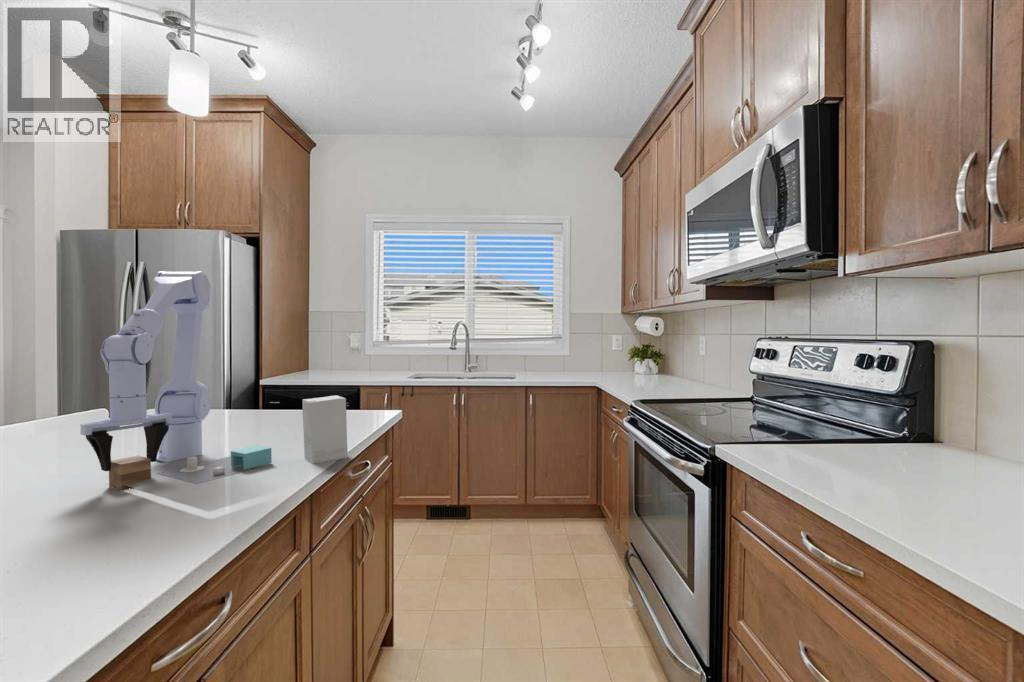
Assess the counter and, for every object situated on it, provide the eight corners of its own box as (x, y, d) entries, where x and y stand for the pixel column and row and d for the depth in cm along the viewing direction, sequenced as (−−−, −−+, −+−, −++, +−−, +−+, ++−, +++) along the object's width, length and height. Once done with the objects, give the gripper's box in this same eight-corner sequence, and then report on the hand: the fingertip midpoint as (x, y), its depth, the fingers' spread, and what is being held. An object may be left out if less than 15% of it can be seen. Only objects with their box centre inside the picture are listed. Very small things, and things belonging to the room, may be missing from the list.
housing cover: (231, 466, 107) (230, 451, 107) (257, 460, 112) (257, 445, 112) (245, 469, 105) (244, 453, 104) (271, 462, 110) (271, 447, 110)
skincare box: (339, 457, 119) (338, 394, 119) (348, 462, 115) (347, 397, 114) (302, 463, 114) (301, 397, 114) (311, 468, 109) (310, 400, 109)
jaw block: (109, 486, 97) (108, 461, 97) (138, 480, 102) (138, 455, 102) (121, 490, 95) (120, 464, 95) (151, 483, 99) (150, 458, 99)
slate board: (156, 477, 103) (155, 460, 103) (232, 460, 117) (232, 445, 117) (196, 489, 96) (196, 470, 96) (273, 468, 110) (272, 452, 109)
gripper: (91, 402, 90) (93, 477, 90) (179, 393, 102) (180, 459, 102) (74, 399, 93) (76, 472, 93) (161, 391, 106) (162, 455, 106)
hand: (129, 465), depth 98 cm, fingers open, 7 cm apart
